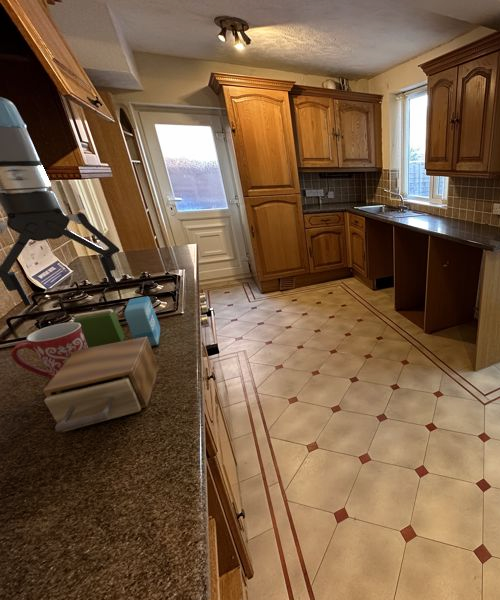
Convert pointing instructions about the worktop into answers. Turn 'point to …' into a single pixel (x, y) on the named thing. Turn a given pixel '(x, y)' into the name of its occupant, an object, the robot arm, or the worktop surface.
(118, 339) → the green block
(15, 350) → the mug
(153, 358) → the cabinet
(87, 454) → the worktop surface
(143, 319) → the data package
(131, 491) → the worktop surface
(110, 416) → the drawer
